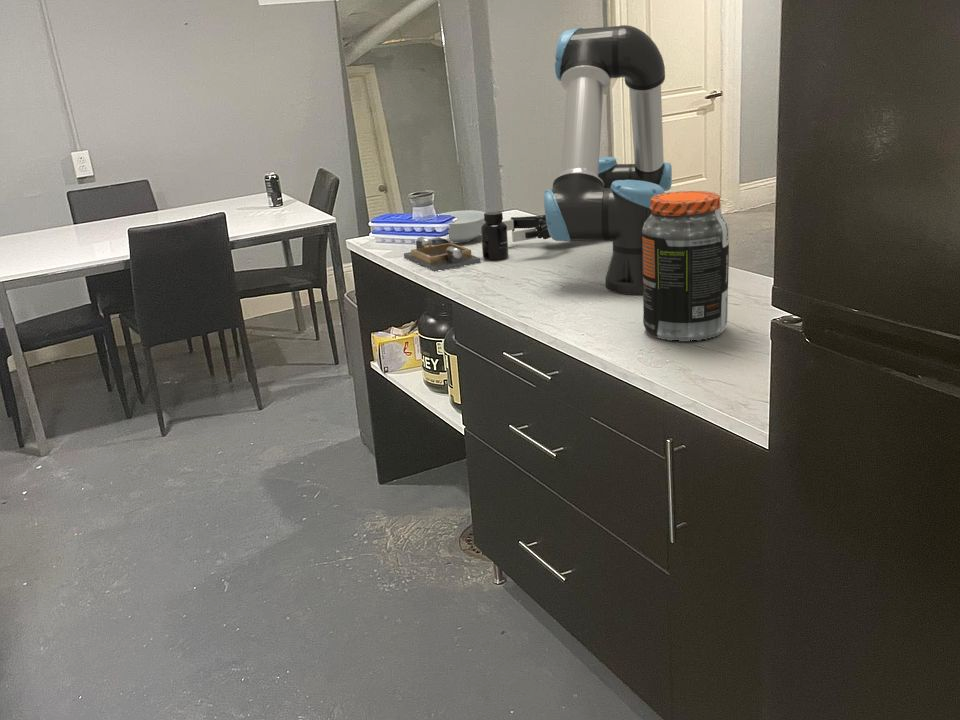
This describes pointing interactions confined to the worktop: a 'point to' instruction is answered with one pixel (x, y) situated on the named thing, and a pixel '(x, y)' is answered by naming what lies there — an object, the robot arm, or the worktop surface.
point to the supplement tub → (685, 266)
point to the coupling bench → (440, 255)
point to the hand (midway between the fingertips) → (501, 232)
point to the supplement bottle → (494, 237)
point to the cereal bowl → (465, 225)
